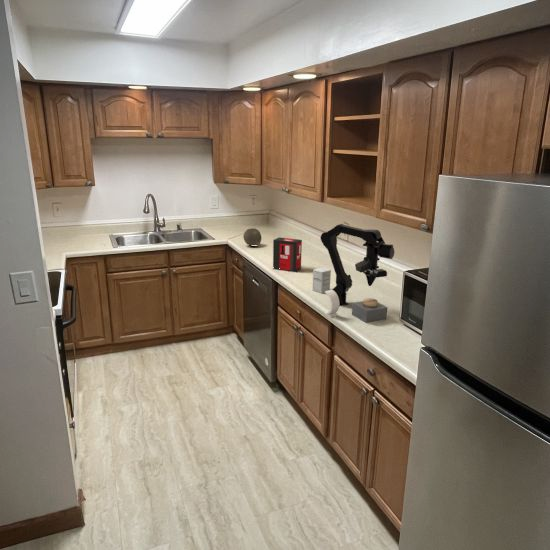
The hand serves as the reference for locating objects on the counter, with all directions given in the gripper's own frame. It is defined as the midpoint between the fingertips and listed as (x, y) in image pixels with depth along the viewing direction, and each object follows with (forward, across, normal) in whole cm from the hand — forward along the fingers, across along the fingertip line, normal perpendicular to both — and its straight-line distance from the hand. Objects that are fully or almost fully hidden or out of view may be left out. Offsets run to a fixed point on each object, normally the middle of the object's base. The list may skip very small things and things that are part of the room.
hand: (369, 285), depth 224 cm
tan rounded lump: (+11, +8, -5) cm, 14 cm away
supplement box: (+13, -36, -7) cm, 39 cm away
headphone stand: (+13, -1, -21) cm, 25 cm away
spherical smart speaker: (+13, -153, -4) cm, 154 cm away
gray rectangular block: (+13, +8, -5) cm, 16 cm away
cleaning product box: (+13, -84, -6) cm, 85 cm away
